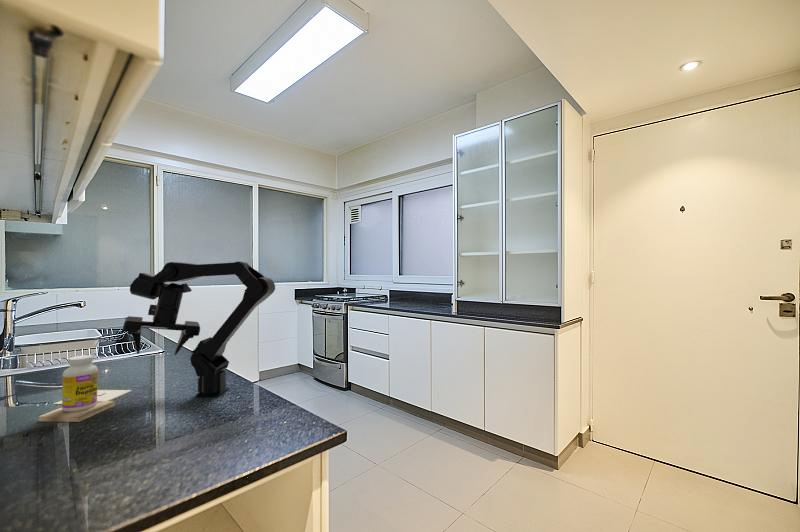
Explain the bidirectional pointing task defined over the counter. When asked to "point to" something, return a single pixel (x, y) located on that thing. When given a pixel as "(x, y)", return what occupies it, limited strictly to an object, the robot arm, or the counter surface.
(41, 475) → the counter surface
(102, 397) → the tile
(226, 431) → the counter surface
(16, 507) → the counter surface
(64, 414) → the oak pad
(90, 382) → the supplement bottle
